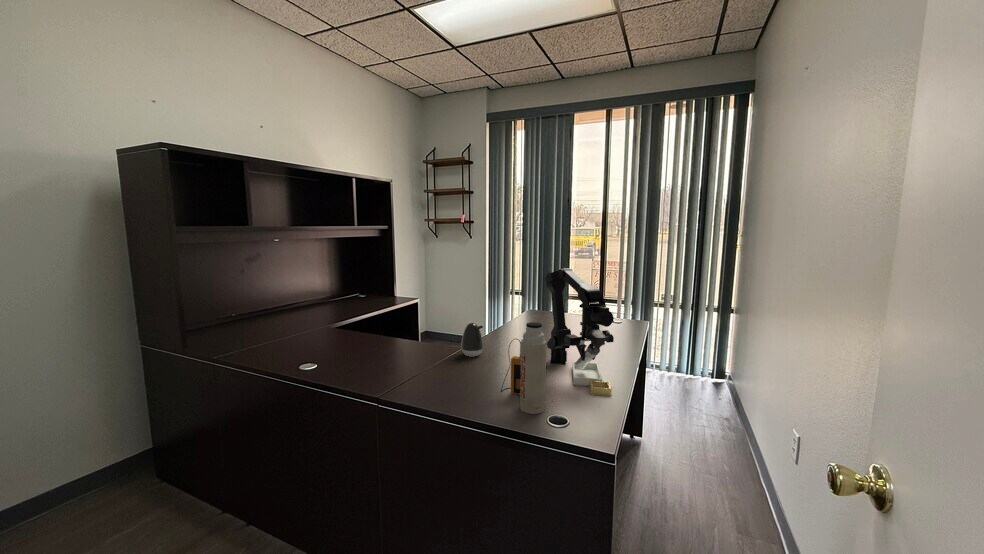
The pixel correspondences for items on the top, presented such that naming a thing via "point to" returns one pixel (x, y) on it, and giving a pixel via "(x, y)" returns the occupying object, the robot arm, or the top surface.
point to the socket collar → (600, 388)
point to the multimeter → (515, 373)
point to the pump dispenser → (472, 340)
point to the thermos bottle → (533, 369)
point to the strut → (587, 356)
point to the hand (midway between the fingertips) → (588, 360)
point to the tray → (586, 374)
